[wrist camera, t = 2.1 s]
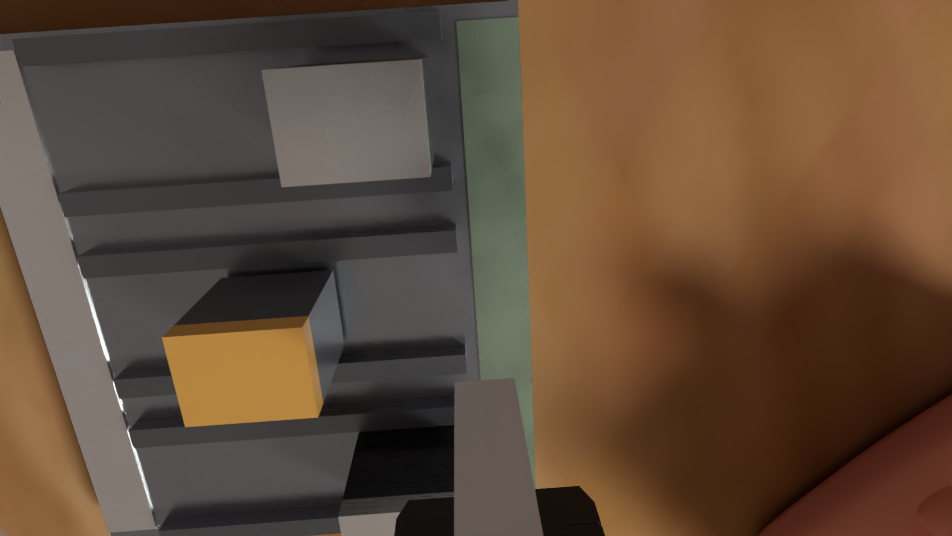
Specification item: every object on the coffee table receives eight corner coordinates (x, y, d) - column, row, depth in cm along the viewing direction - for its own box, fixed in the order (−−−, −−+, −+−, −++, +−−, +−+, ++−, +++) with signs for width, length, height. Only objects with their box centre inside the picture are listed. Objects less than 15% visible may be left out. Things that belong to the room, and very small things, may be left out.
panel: (-20, 38, 21) (-207, 35, 15) (513, 3, 21) (537, -14, 15) (130, 515, 28) (42, 643, 22) (532, 485, 28) (553, 604, 22)
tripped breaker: (221, 277, 22) (161, 337, 18) (333, 269, 22) (302, 327, 18) (237, 352, 23) (185, 427, 19) (344, 345, 23) (318, 417, 19)
